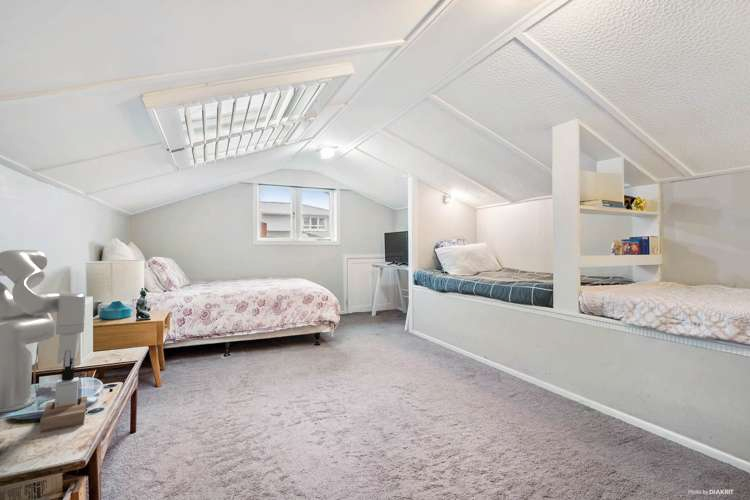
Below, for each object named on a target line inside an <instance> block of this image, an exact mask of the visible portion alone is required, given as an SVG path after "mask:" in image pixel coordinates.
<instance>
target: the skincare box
mask: <svg viewBox="0 0 750 500" xmlns="http://www.w3.org/2000/svg"><path fill="white" fill-rule="evenodd" d="M79 381H80V377H79V376H77V377H74V379H72V380H65V381H62V379H57V380H56V383H55V395H54V402H55V407H54V409H57V408H63V407H69V406H75V405H77V398H79V397H78V396H79V384H80V383H79Z"/></svg>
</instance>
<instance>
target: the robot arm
mask: <svg viewBox="0 0 750 500" xmlns="http://www.w3.org/2000/svg"><path fill="white" fill-rule="evenodd" d="M47 265H48V258H47V256H46V255H45V254H44V253H43V252H42V251H39V250H37V249H10V250H9V249H8V250H4V251H1V252H0V277H5V276H6V277H7V278H8V279H9V280H10V281H11V282H12V284H13V287H12V291H11V292H12V293H11V292H10V289H9V288H8V287H7V285H6V284H4V283H3V282H1V281H0V413H6V412H7V413H8V412H13V411H17V410H20V409H24V408H27V407H30V406H31V405H33V404H34V403H36V401H37V397H36V396H35V395H33V394H31V392H32V390H31V389H32V376H33V375H32V374H33V373H32V372H33V354H32V352H31V351H30V350H29V349H28V348H27V347H26V346H27V345H30V344H31V345H32V344H34V343H39V342H44V341H47V340H48V341H49V340H50V339H52V338H53V337H54V336H55V335H58V336H59V338H58V345H57V348H58V349H57V357H56V358H57V360H56V363H58V364H60V363H62V370H61V380H62V381H65V380H72V379H74V378H75V361H76V359H77V356H78V353H79V345H80V334H81V333H83V332H84V331H85V313H86V311H85V309H86V296H85V295H84V294H83V293H78V292H77V293H76V292H75V293H74V292H72V291H68V290H58V291H49V292H48V291H47V292H40V293H39V292H38V293H35V292H34V291H32V290H31V289H34V288H36V287H38V286H39V285H40V284H41V283H42V282H43V281H44V279H45V278H46V277H45V276H46V274H45V272H44V269H46V267H47ZM52 314H56V322H55V319H53V316H52Z"/></svg>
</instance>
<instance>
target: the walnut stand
mask: <svg viewBox="0 0 750 500" xmlns="http://www.w3.org/2000/svg"><path fill="white" fill-rule="evenodd" d="M87 401H88V396H81V397H78V398H77V405H75V406H69V407H63V408H57V409H54V407H55V401H50V402H47V403H46V405H45V408H44V409H43V412H42V415H41V417H40V422H39V424H40V425H39V426H40V427H39V434H42V433H49V432H51V431H52V432H53V431H58V430H63V429H67V428H74V427H79V426H84V424H85V420H86V419H85V418H86V413H87V405H88V402H87Z"/></svg>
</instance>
